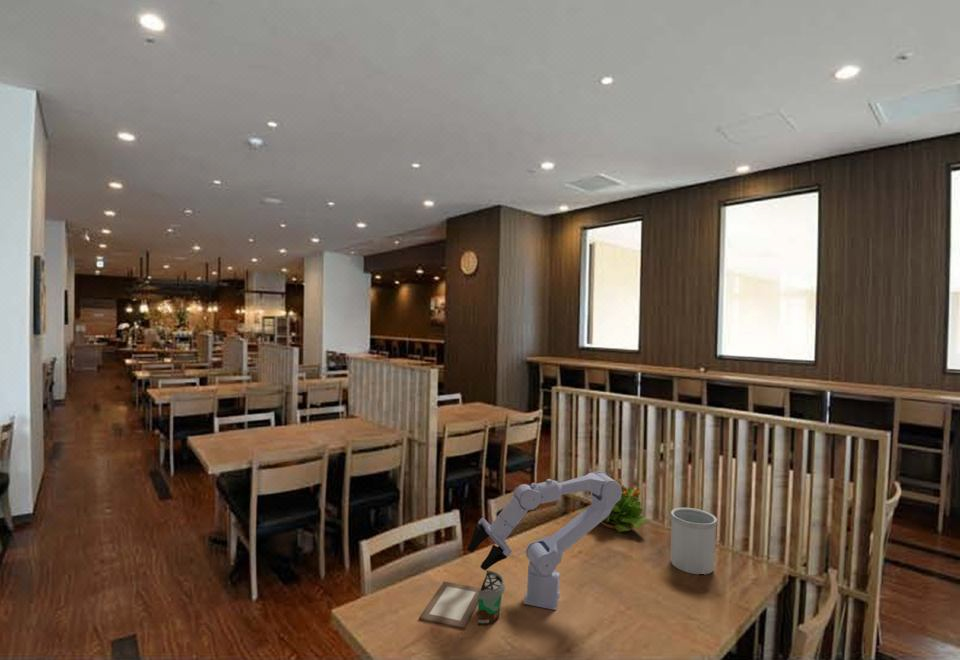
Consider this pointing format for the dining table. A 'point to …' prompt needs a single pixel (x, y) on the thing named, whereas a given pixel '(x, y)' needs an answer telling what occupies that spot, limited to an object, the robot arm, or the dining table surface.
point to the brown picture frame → (451, 605)
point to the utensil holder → (693, 540)
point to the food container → (490, 599)
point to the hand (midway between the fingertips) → (475, 559)
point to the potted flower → (625, 511)
